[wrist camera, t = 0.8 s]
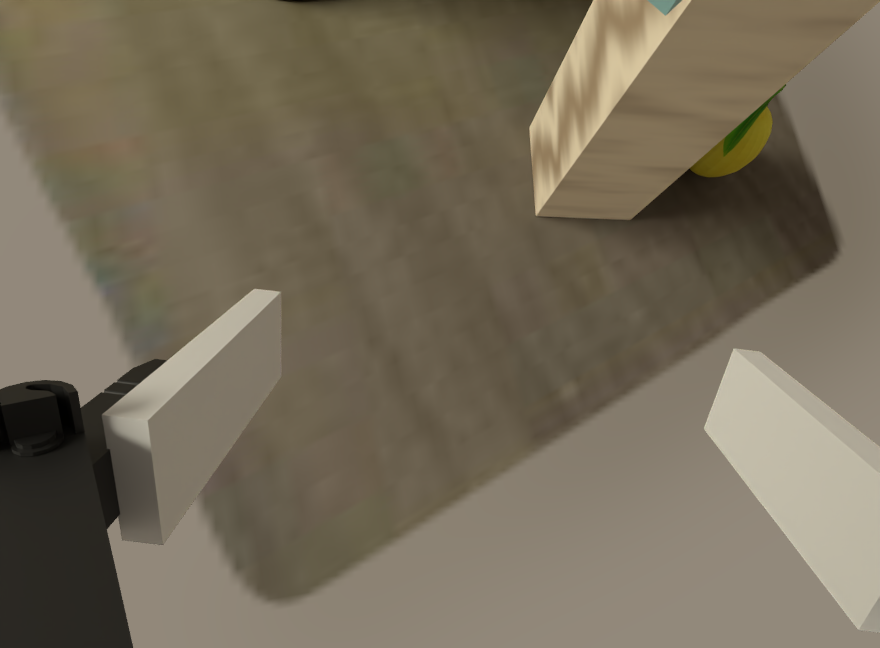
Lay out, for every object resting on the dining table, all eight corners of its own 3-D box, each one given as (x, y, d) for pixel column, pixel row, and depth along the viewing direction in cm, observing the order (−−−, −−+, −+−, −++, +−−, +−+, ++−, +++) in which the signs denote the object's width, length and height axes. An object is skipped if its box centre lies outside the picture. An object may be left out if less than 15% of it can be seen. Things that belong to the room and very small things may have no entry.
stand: (447, 201, 40) (661, -464, 11) (587, 75, 44) (994, -620, 16) (553, 301, 39) (1091, -127, 10) (684, 162, 44) (1303, -401, 15)
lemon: (669, 201, 42) (757, 129, 33) (649, 139, 44) (728, 52, 34) (738, 192, 44) (842, 120, 34) (717, 132, 45) (812, 46, 35)
